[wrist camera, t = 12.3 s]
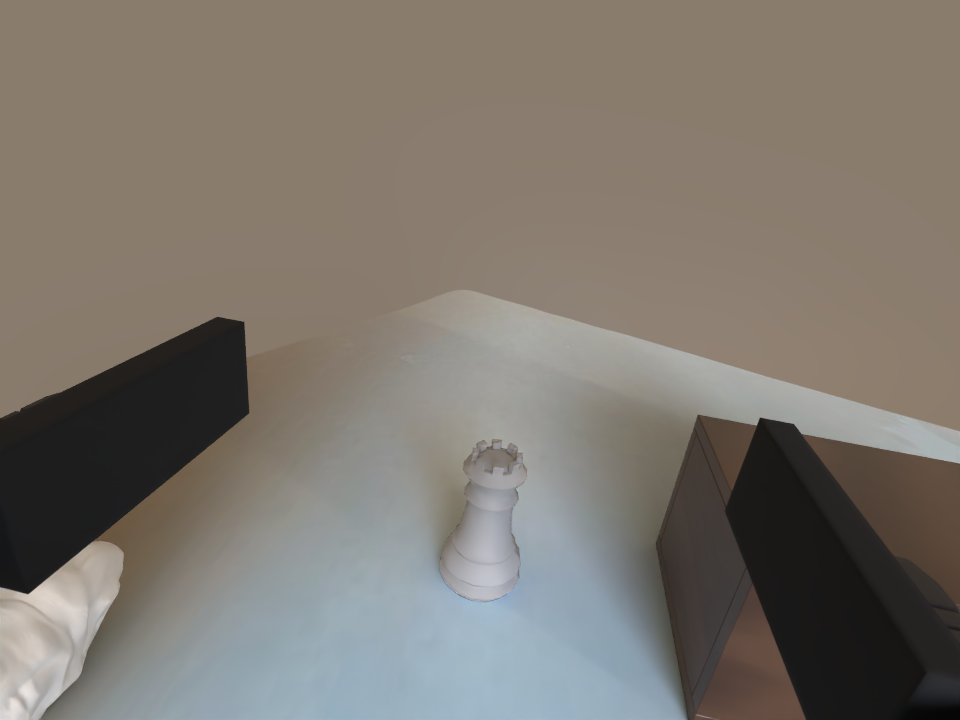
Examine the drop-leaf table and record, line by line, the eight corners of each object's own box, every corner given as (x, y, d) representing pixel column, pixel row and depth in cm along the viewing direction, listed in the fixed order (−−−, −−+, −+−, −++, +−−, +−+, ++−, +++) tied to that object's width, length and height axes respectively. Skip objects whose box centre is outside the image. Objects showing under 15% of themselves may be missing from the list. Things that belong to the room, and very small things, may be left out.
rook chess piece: (522, 555, 31) (546, 439, 28) (512, 616, 27) (538, 489, 24) (449, 537, 32) (464, 422, 29) (428, 594, 28) (442, 468, 25)
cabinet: (891, 594, 32) (967, 464, 29) (1043, 814, 22) (1195, 654, 18) (655, 543, 34) (697, 414, 30) (689, 726, 23) (761, 562, 20)
